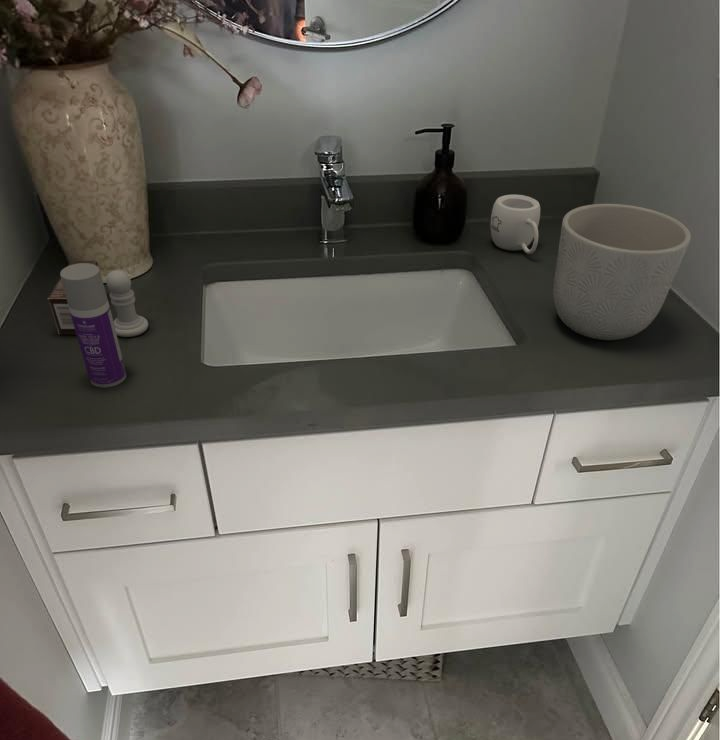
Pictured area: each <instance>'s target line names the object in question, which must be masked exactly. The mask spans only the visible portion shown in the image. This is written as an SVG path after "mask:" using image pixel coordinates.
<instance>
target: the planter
mask: <svg viewBox="0 0 720 740" xmlns="http://www.w3.org/2000/svg"><path fill="white" fill-rule="evenodd" d="M691 239H692V235H691V233H690V230H689V229H688V228H687V226H686V225H684V224H683V223H682V222H681V221H679V220H678V219H676V218H674V217H672V216H671V215H668V214H665V213H663V212H660V211H657V210H654V209H650V208H645V207H643V206H642V207H641V206H637V205H631V204H621V203H594V204H587V205H583V206H578V207H576V208H573V209H571V210H569V211H568V212H566V214H565V215H564V217H563V218H562V223H561V230H560V237H559V244H558V252H557V256H556V257H557V259H556V265H555V271H554V279H553V286H552V287H553V288H552V297H553V304H554V309H555V311H556V313H557V316H558V317H559V319H560V320H561V321H562V322H563V324H564V325H565V326H566V327H568V328H569V329H570V330H572V331H573V332H575V333H577V334H578V335H581V336H584V337H587V338H590V339H594V340H600V341H619V340H623V339H628V338H631V337H633V336H636V335H637V334H639V333H641V332H642V331H644V330H645V329H646V328H648V327H649V326H650V325H651V324H652V322H653V321H654V320H655V318H656V317H657V316H658V314H659V313H660V312H661V309H662V307H663V305H664V303H665V301H666V299H667V296H668V294H669V291H670V289H671V287H672V285H673V282H674V279H675V278H676V275H677V272H678V270H679V268H680V266H681V264H682V261H683V259H684V256H685V255H686V252H687V251H688V247H689V245H690V242H691Z"/></svg>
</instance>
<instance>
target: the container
mask: <svg viewBox="0 0 720 740" xmlns="http://www.w3.org/2000/svg"><path fill="white" fill-rule="evenodd" d="M59 274H60V275H59V276H60V277H61V279H62V283H63V287H64V291H65V295H66V299H67V302H68V306H69V310H70V314H71V318H72V321H73V324H74V328H75V331H76V335H75V336H76V338H77V341H78V344H79V349H80V351H81V355H82V358H83V362H84V365H85V369H86V372H87V376H88V379H89V382H90V384H91V385H93V387H97V388H103V389H104V388H112V387H115V386H118V385H120V384H122V383H123V382H124V381H125V380H126V378H127V372H126V367H125V364H124V360H123V355H122V352H121V351H122V350H121V348H120V343H119V339H118V335H117V334H116V330H115V326H114V322H113V321H114V318H113V315H112V310H111V306H110V303H109V299H108V296H107V292H106V288H105V285H104V281H103V278H102V274H101V270H100V267H99V265H98V266H96V265H94V264H90V263H79V264H74V265H70V266H68V265H67V266H66V267H64V268H62V269H61V271H60V272H59Z"/></svg>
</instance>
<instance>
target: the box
mask: <svg viewBox="0 0 720 740" xmlns="http://www.w3.org/2000/svg"><path fill="white" fill-rule="evenodd" d="M79 263H90V264H94V265H96V266H98V267H99V264H98V261H97V260H70V261H69V263H68V264H67V266H70V265H74V264H79ZM47 302H48V304H49V308H50V310H51V314H52V317H53V321H54V324H55V328H56V330H57V335H60V336H61V335H62V336H77V335H76V331H75V328H74V324H73V321H72V318H71V314H70V310H69V306H68V302H67V299H66V295H65V291H64V287H63V283H62V279H61V276H60V278H59V279H58V280H57V282H56V284H55V286H54V287H53V288H52V289H51V292H50V294H49V295H48V297H47Z"/></svg>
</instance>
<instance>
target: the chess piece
mask: <svg viewBox="0 0 720 740" xmlns="http://www.w3.org/2000/svg"><path fill="white" fill-rule="evenodd" d="M106 275H107V276H106V278H105V284H106V287H107V288H108V290H109V291H110V292H109V298H110V303H111V305H113V306H114V309H115V313H116V318H115V319H113V322H114V326H115V330H116V334H117V337H122V338H131V337H138V336H140V335H142V334H143V333H145V332H146V331H147V330H148V328H149V321H148V320H147V319H146V318H145V317H144V316H142V315H139V314H137V311H136V306H135V302H136V296H135V292H134V290H133V289H131V288H132V279H131V277H130V276H129V275H128V273H127V272H126V271H124V270H122V269H114V270H112V271H110V272H109V273H108V274H106Z"/></svg>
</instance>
